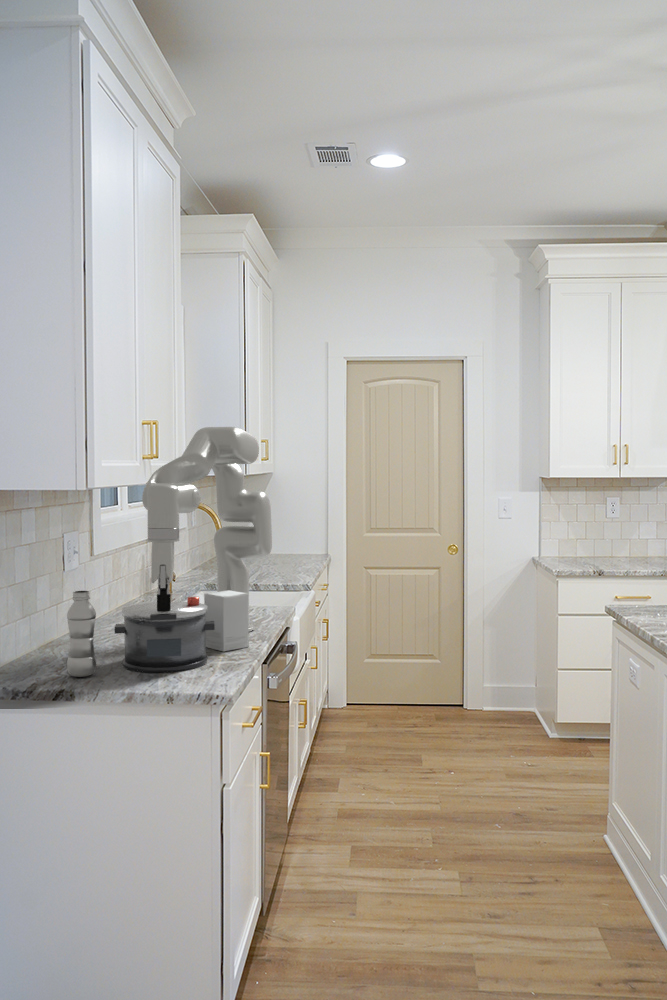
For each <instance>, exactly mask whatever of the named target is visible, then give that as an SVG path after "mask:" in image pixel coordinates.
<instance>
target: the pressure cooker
mask: <svg viewBox="0 0 667 1000" xmlns="http://www.w3.org/2000/svg"><path fill="white" fill-rule="evenodd" d="M123 617H124V616H123ZM123 620H124V622H123V623H115V625H114V634H124V658H123V660H122V666H123V668H124V669H126V670H129V671H132V672H137V673H146V674H150V673H151V674H166V673H178V672H186V671H189V670H194V669H198V668H200V667H202V666H204V665H206V664H207V663H208V654H207V650H206V649H207V647H206V630H215V624H214V621H206V616H205V614H203V615H200V616H195V617H187V618H177V619H176V620H150V619H133V618H127V617H124V619H123Z"/></svg>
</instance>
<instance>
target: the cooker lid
mask: <svg viewBox="0 0 667 1000" xmlns="http://www.w3.org/2000/svg"><path fill="white" fill-rule="evenodd" d="M206 613H207V605H205V604H204V603H200V597H199V596H188V597H187V601H171V609H170V611H157V602H145V603H138V604H132V605H126V606H124V607H122V608H121V616H122V617H127V618H133V619H150V620H176V619H177V618H187V617H195V616H200V615H203V614H206Z"/></svg>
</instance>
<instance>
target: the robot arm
mask: <svg viewBox="0 0 667 1000" xmlns="http://www.w3.org/2000/svg"><path fill="white" fill-rule="evenodd" d="M259 454H260V447H259V443H258V440H257V439H256V437H255V436H254V435H253V434H251V433H249V432H248V431H245V429H242V428H239V427H235V426H206V427H202V428H199V429H197V430H196V432H195V433H194V435H193V436H192V438H191V440H190V441H189V443H188V444H187V446H186V448H185V450H184V451H183V454H182V455H181V456H178V457H177V458H174V459H172V460H171V461H169V462H168V463H166V464H164V465H162V466H160V467H159V468H158V469H157V470H155V471H154V472H153V473H152V474H151V476H150V477H149V479H148V481H147V483H146V485H145V487H144V488H143V491H142V498H141V499H142V501H141V502H142V505H143V507H144V509H145V510H147V543H148V542H149V543H151V553H150V554H151V556H150V557H151V561H150V563H151V565H150V566H151V567H150V568H151V569H150V570H151V571H150V573H151V574H150V575H151V577H150V581H151V583H152V584H155V582H157V584H156V585H157V594H156V603H157V611H170V609H171V602H172V601H171V600H172V599H171V597H172V596H171V595H172V594H171V593H170V591H171V590H170V587H171V586H170V583H172V582H173V577H174V570H175V569H174V568H175V543H176V542H180V514H190V513H193V512H195V511H196V510H197V509H198V508H199V507H200V503H201V493H200V490H199V488H197V486H195V485H193V484H192V483H194V482H198V481H201V480H203V479H204V478H206V477H207V476H208V475H209V474H210V472H211V471H212V472H213V473H214V477H215V490H216V509H217V514H218V515H217V516H218V517H219V519H220V520H221V521H223V522H227V523H252V526H248V525H247V526H246V525H226V526H222V527H220V528H218V529H217V530H216V532H215V533H214V536H213V545H214V546H213V547H214V550H215V556H216V557H215V558H216V566H217V567H216V568H217V571H216V572H217V575H216V577H217V579H216V580H217V581H216V582H217V592H220V591H227V590H230V591H236V592H242V593H248V600H249V602H248V603H249V604H250V573H249V572H250V571H249V568H248V567H247V565H246V563H245V562H244V560H243V559H245V558H246V559H264V558H267V557H268V556H270V554H271V552H272V547H273V536H272V535H273V534H272V533H273V531H272V530H273V529H272V509H271V503H270V498H269V496H268V494H267V493H265V492H264V491H262V490H247V489H246V486H245V485H246V484H245V483H246V482H245V474H244V471H243V469H242V468H241V466H240V465H251V464H253V463H255V462H256V460H258V457H259ZM252 630H253V631H254V630H255V624H252V623H250V622H249V632H250V633H251V632H252Z"/></svg>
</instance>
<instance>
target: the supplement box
mask: <svg viewBox="0 0 667 1000" xmlns="http://www.w3.org/2000/svg"><path fill="white" fill-rule="evenodd" d="M203 597H204V603H203V604H205V605H207V613H206V614H205V616H206V621H214V624H215V630H206V649H207V648H208V649H211V650H215V651H220V652H228V651H234V650H239V649H243V648H244V649H245V648H249V646H250V643H249V642H250V640H249V639H250V637H249V636H250V635H249V623H250V599H249V600H248V593H242V592H236V591H230V590H227V591H220V592H218V591H212V592H205V593H204V594H203ZM248 602H249V603H248Z"/></svg>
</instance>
